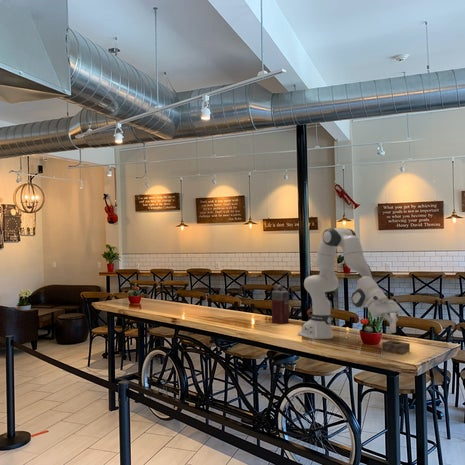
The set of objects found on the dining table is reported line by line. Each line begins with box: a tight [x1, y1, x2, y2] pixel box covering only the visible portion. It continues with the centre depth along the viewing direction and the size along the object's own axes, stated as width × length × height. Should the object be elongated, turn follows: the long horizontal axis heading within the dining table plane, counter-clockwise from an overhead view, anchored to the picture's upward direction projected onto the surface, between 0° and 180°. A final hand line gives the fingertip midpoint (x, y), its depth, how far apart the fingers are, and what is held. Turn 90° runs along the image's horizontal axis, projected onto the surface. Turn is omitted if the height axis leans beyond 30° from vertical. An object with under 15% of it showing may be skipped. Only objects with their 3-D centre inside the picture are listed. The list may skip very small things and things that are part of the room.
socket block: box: [381, 339, 411, 356], centre depth 245 cm, size 11×10×4 cm
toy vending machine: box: [271, 284, 290, 325], centre depth 329 cm, size 9×11×28 cm
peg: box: [389, 313, 397, 334], centre depth 237 cm, size 3×3×10 cm
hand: (393, 321), depth 236 cm, fingers closed on peg, 3 cm apart
